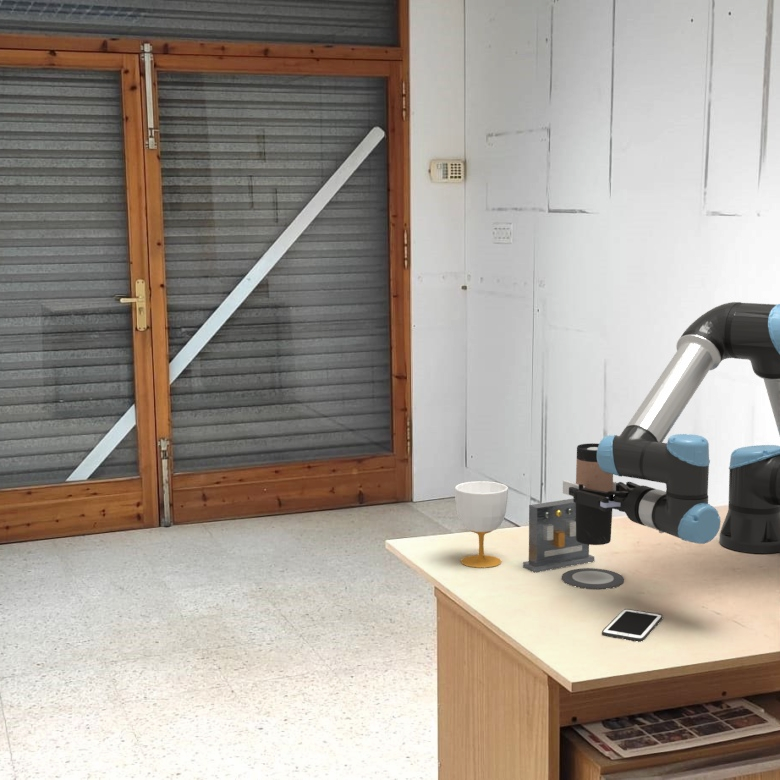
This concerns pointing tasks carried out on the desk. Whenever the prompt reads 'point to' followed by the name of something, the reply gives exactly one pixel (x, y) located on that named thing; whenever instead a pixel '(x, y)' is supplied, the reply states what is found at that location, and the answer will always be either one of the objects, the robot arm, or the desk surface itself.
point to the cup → (481, 514)
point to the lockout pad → (592, 578)
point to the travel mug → (589, 520)
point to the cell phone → (632, 625)
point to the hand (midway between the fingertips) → (579, 484)
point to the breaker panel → (554, 537)
